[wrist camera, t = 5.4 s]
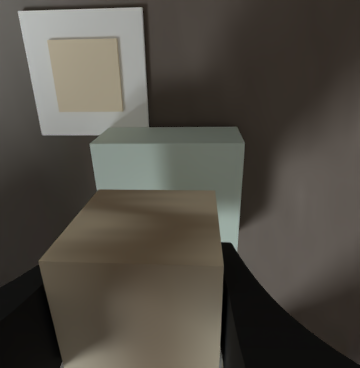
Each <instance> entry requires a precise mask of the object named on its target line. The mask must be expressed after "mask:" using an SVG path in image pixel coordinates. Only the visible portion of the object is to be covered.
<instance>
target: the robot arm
mask: <svg viewBox="0 0 360 368" xmlns="http://www.w3.org/2000/svg"><path fill="white" fill-rule="evenodd" d="M221 246H222V255H223V263H224V274H223V295H222V317H221V339H220V346H221V353H222V359H223V368H360V365H359V364H357V363H355V362H354V361H352V360H351V359H349V358H347V357H346V356H344V355H343V354H341V353H339V352H338V351H336V350H335V349H333V348H332V347H331V346H329V345H328V344H326V343H325V342H324V341H322V340H321V339H319V338H318V337H317V336H315V335H314V334H313V333H311V332H310V331H309V330H307V329H306V328H305V327H304V326H303V325H301V324H300V323H299V322H298V321H296V320H295V319H294V318H293V317H292V316H290V315H289V314H288V313H287V312H286V311H285V310H284V309H283V308H282V307H281V306H280V305H279V304H278V303H277V302H276V301H275V300H274V299H273V298H272V297H271V296H270V295H269V294H268V293H267V292H266V290H265V289H264V288H263V287H262V286H261V285H260V283H259V282H258V281H257V280H256V278H255V277H254V276H253V275H252V273H251V272H250V271H249V269H248V268H247V266H246V265H245V264H244V262H243V261H242V259H241V258H240V256H239V254H238V253H237V251H236V249H235V248H234V246H233V244H232V243H231V242H221ZM61 363H62V357H61V353H60V349H59V345H58V341H57V336H56V332H55V328H54V324H53V320H52V316H51V312H50V308H49V304H48V299H47V295H46V291H45V287H44V283H43V279H42V275H41V271H40V267H39V265H37V266H36V267H34V268H33V269H31V270H29V271H28V272H26V273H24V274H23V275H21V276H20V277H18V278H16V279H15V280H13V281H11V282H10V283H8V284H6V285H4V286H2V287H0V368H60V366H61Z"/></svg>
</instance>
